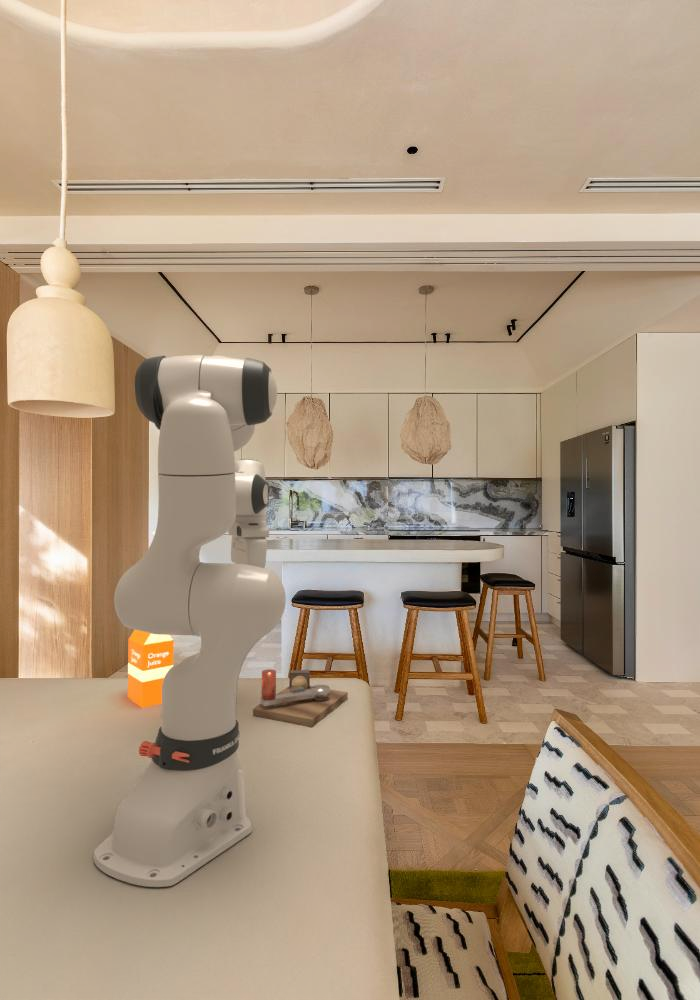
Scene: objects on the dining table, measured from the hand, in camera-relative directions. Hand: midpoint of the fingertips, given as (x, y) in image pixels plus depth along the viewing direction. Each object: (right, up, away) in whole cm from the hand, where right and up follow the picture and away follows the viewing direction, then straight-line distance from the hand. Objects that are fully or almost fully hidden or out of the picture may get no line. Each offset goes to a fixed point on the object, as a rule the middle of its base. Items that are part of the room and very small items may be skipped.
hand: (246, 585), depth 134 cm
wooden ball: (+12, -27, +4) cm, 30 cm away
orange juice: (-24, -28, +1) cm, 37 cm away
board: (+14, -28, -2) cm, 31 cm away
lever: (+12, -26, -4) cm, 29 cm away
